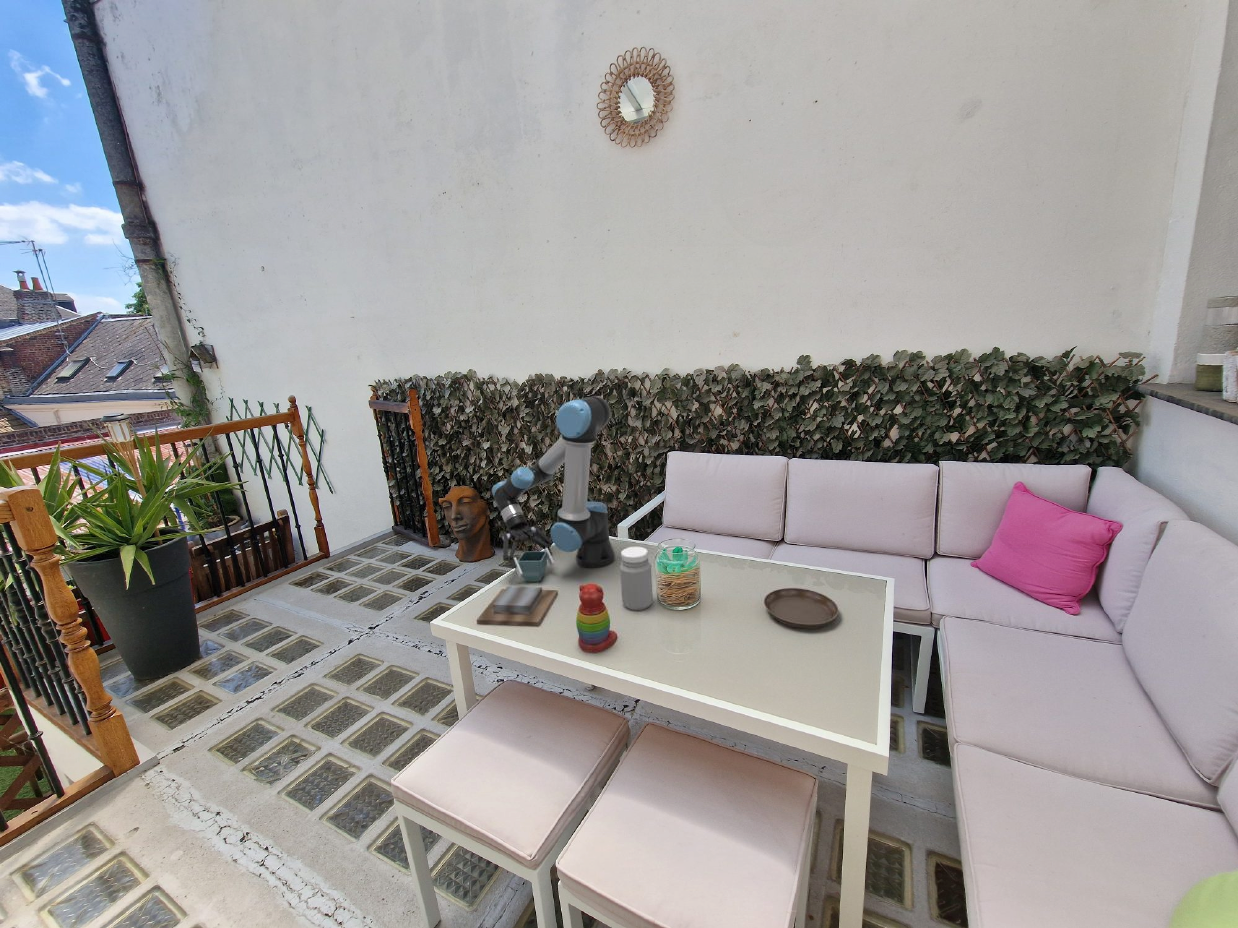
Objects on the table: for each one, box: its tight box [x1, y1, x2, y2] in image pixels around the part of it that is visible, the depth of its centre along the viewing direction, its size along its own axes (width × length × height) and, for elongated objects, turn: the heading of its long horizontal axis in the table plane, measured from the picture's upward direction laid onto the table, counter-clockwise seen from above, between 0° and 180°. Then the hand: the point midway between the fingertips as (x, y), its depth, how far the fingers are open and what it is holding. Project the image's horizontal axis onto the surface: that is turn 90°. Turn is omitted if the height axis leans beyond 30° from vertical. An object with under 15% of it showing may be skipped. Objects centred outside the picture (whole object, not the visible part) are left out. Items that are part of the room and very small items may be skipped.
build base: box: [476, 586, 559, 627], centre depth 163 cm, size 20×20×4 cm
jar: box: [619, 546, 654, 611], centre depth 159 cm, size 10×10×18 cm
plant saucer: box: [763, 587, 839, 630], centre depth 149 cm, size 21×21×3 cm
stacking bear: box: [575, 583, 618, 653], centre depth 140 cm, size 11×10×18 cm
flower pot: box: [517, 550, 548, 583], centre depth 183 cm, size 9×9×9 cm
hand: (536, 569), depth 181 cm, fingers closed on flower pot, 12 cm apart
